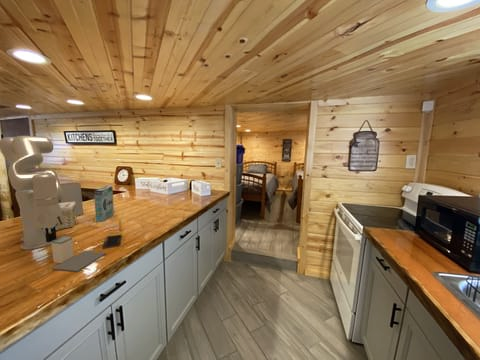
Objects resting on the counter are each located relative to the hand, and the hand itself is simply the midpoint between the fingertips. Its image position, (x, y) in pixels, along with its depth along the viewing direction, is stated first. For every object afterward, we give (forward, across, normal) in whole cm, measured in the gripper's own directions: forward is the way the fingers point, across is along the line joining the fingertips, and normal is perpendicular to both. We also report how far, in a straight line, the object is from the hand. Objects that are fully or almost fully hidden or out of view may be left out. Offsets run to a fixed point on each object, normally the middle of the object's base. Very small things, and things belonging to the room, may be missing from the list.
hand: (51, 240), depth 89 cm
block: (+9, +5, 0) cm, 10 cm away
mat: (+9, +14, 0) cm, 17 cm away
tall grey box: (+8, -52, +57) cm, 78 cm away
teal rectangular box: (+9, -23, +56) cm, 61 cm away
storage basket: (+9, -40, +33) cm, 53 cm away
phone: (+9, +13, +20) cm, 26 cm away
